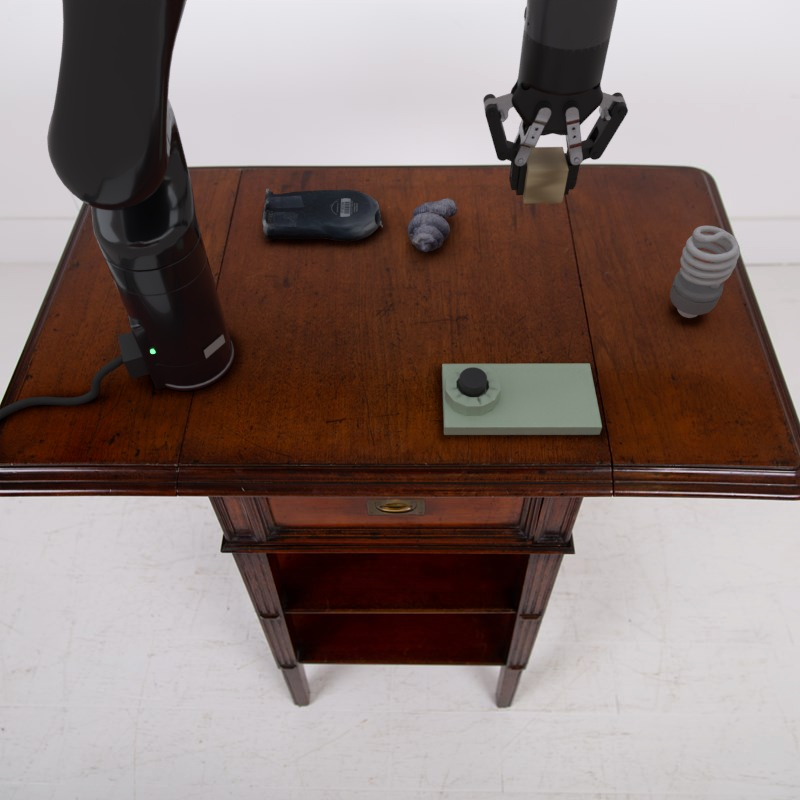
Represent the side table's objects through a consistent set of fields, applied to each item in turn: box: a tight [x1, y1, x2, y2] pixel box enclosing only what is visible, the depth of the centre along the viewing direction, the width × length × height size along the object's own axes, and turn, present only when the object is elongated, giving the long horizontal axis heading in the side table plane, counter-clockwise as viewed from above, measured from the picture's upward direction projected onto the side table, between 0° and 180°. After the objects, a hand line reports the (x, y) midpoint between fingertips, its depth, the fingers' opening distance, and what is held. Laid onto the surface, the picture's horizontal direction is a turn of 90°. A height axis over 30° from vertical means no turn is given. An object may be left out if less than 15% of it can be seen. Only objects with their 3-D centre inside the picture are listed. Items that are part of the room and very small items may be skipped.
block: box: [521, 146, 569, 205], centre depth 78 cm, size 4×4×4 cm
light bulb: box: [669, 225, 741, 319], centre depth 83 cm, size 6×6×12 cm
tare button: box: [459, 367, 487, 397], centre depth 78 cm, size 3×3×2 cm
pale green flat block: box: [441, 362, 603, 436], centre depth 79 cm, size 16×9×3 cm, turn 89°
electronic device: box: [262, 188, 383, 243], centre depth 98 cm, size 9×6×15 cm
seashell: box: [407, 197, 458, 253], centre depth 96 cm, size 5×5×10 cm
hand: (541, 189), depth 79 cm, fingers closed on block, 4 cm apart
